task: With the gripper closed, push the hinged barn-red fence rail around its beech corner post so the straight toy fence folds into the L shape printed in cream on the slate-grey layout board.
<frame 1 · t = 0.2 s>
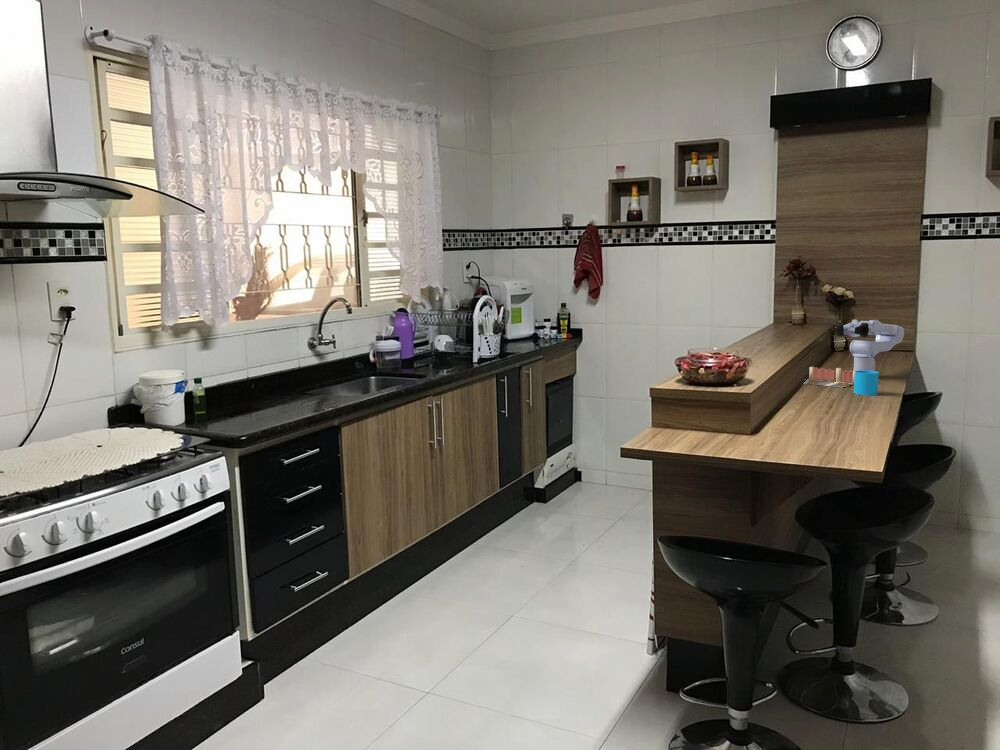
hand: (845, 330, 323), 21 cm above the countertop, tool horizontal, fingers open, 7 cm apart
mug: (866, 393, 304), on the countertop
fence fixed: (838, 383, 327), resting on layout board
layout board: (830, 382, 329), on the countertop
fence panel: (821, 374, 331), point 3 cm above the countertop, hinge at 0.0°
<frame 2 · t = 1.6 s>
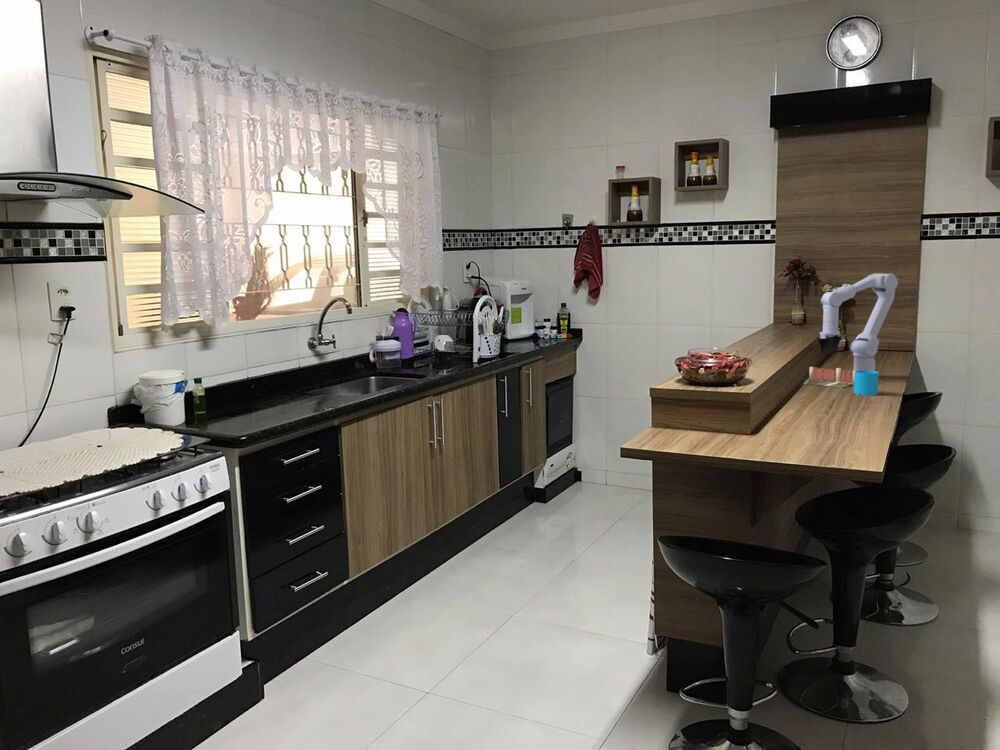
hand: (829, 354, 334), 10 cm above the countertop, tool pointing down, fingers open, 7 cm apart
nothing on the countertop moved.
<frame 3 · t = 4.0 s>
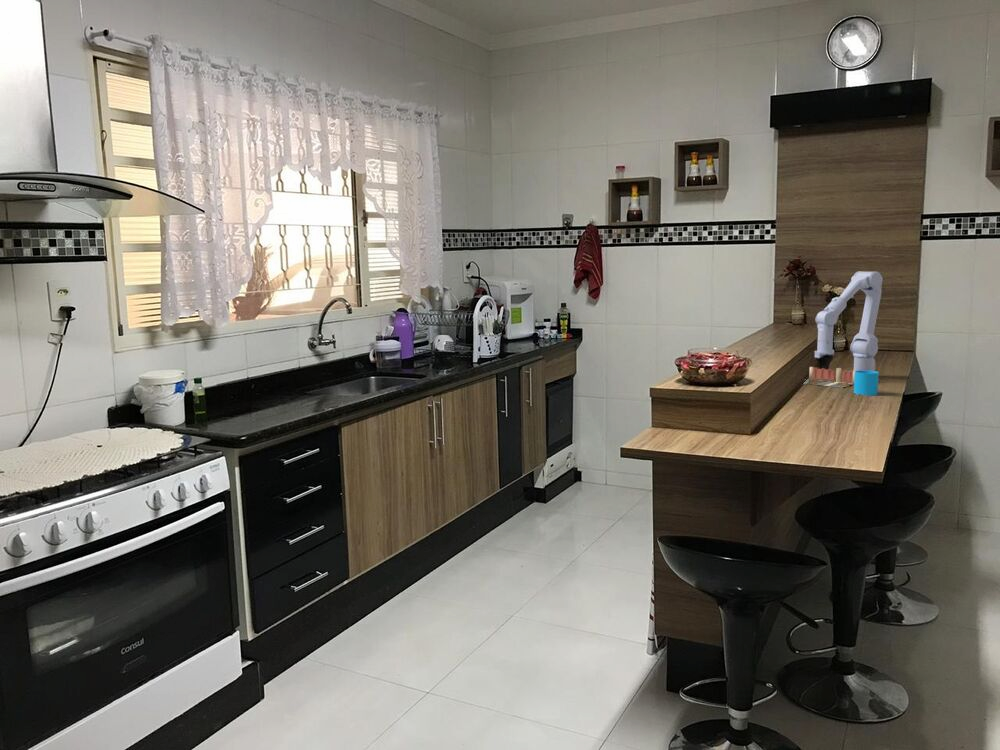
hand: (823, 373, 333), 3 cm above the countertop, tool pointing down, fingers closed
fence panel: (821, 374, 331), point 3 cm above the countertop, hinge at 0.0°, touching gripper
everything else where it was.
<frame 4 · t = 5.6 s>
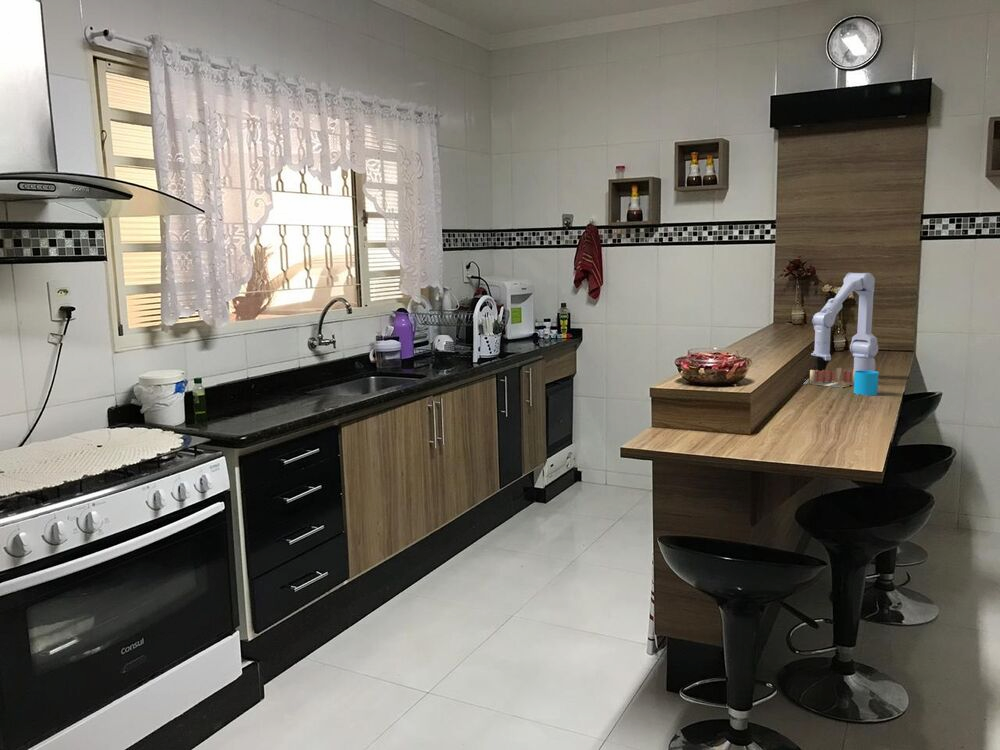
hand: (820, 375, 327), 3 cm above the countertop, tool pointing down, fingers closed, pressing on fence panel
fence panel: (822, 376, 326), point 3 cm above the countertop, hinge at 49.8°, touching gripper
everything else where it was.
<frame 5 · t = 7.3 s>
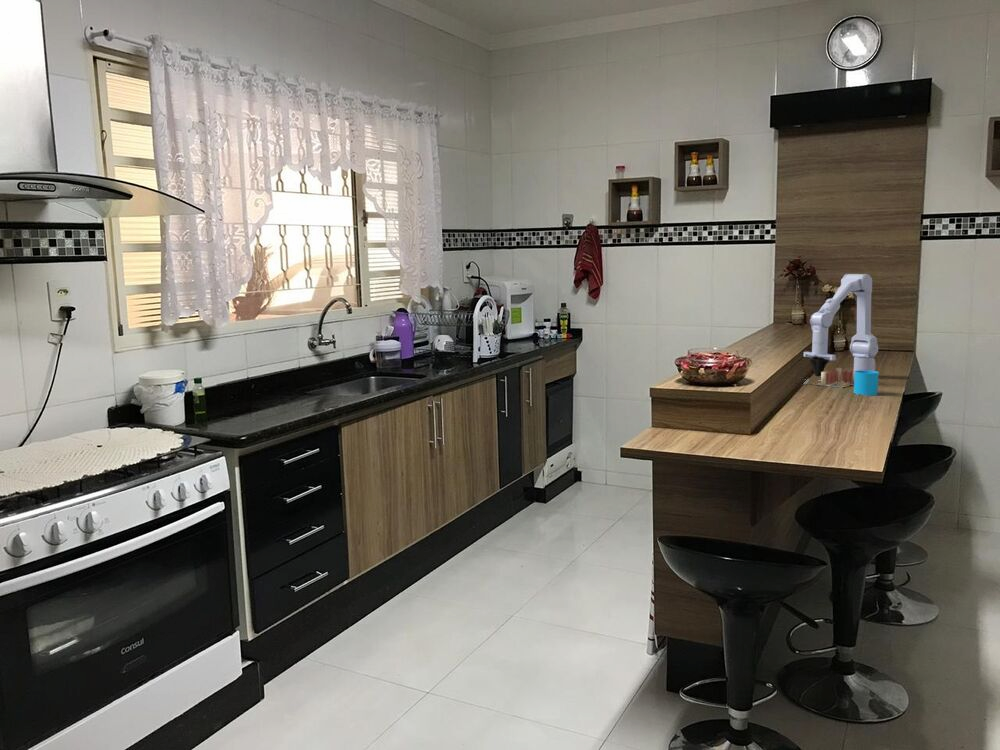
hand: (818, 376, 326), 3 cm above the countertop, tool pointing down, fingers closed
fence panel: (829, 377, 323), point 3 cm above the countertop, hinge at 82.0°
everything else where it was.
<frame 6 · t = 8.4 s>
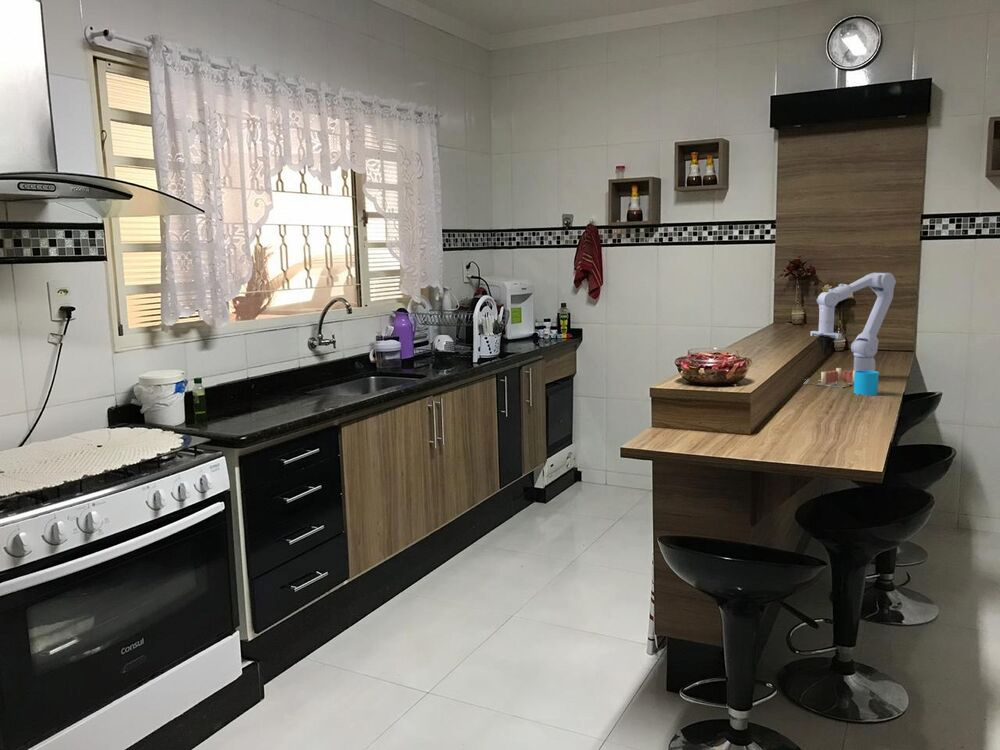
hand: (824, 354, 335), 10 cm above the countertop, tool pointing down, fingers closed
nothing on the countertop moved.
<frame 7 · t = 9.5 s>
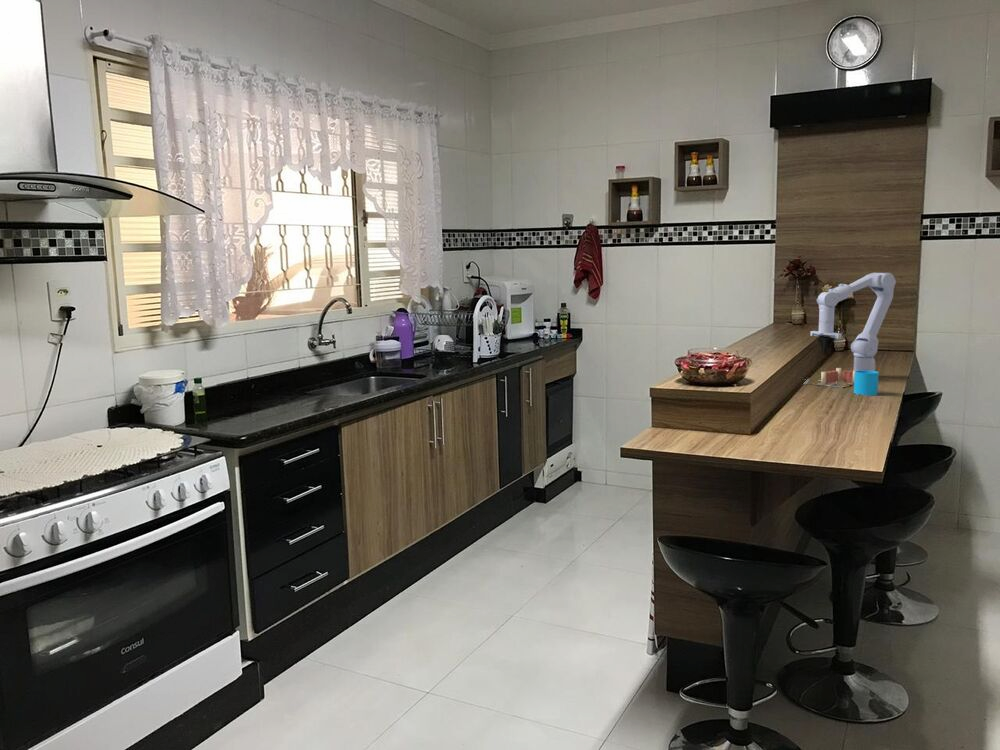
hand: (824, 354, 335), 10 cm above the countertop, tool pointing down, fingers closed
nothing on the countertop moved.
at the end: fence panel at +82° (first picture: +0°); fence panel touching nothing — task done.
